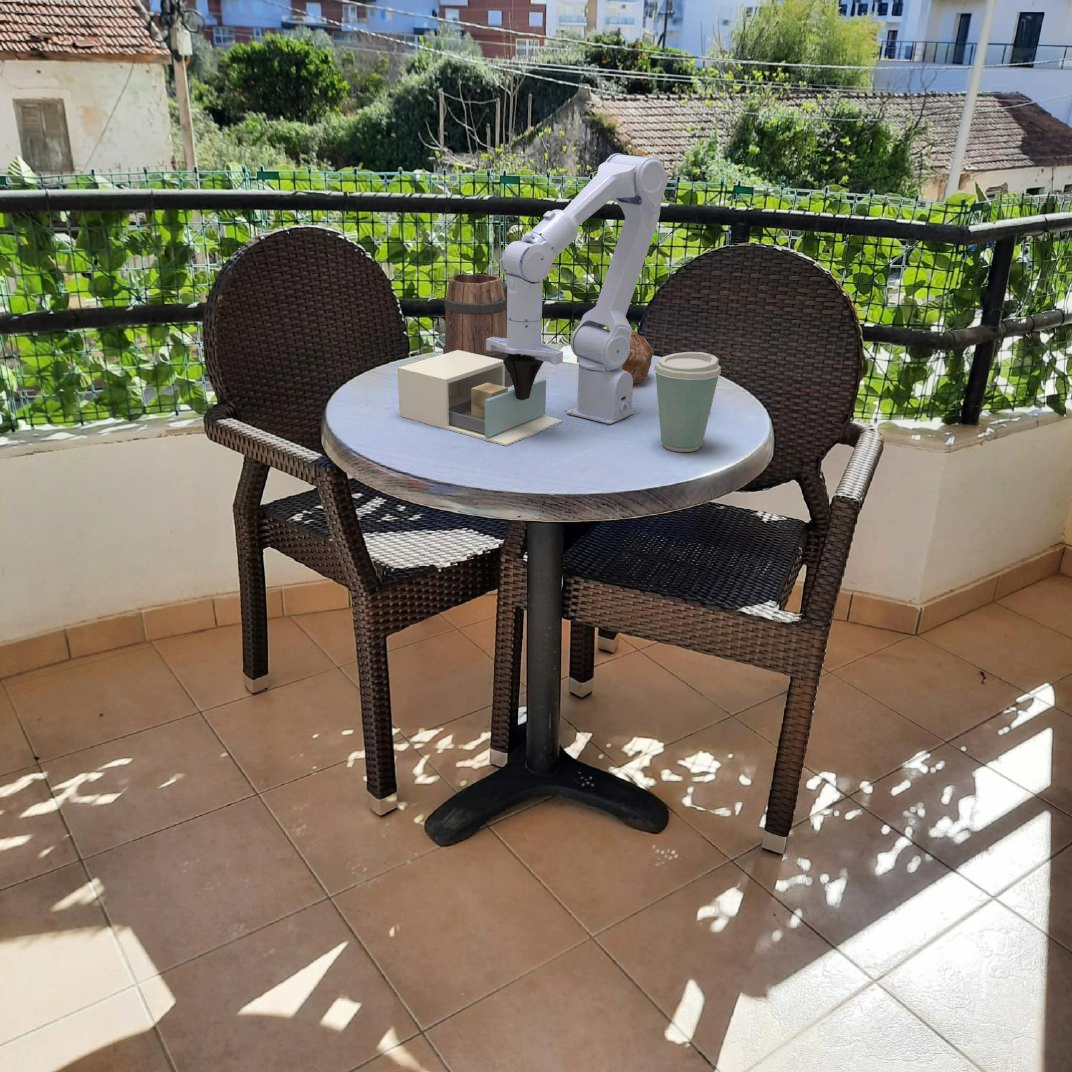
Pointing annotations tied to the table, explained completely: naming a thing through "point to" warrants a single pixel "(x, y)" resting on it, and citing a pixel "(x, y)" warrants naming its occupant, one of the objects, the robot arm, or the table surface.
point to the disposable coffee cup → (685, 398)
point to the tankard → (476, 315)
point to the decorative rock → (638, 358)
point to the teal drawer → (501, 411)
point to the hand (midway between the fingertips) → (523, 398)
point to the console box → (456, 392)
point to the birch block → (483, 397)
